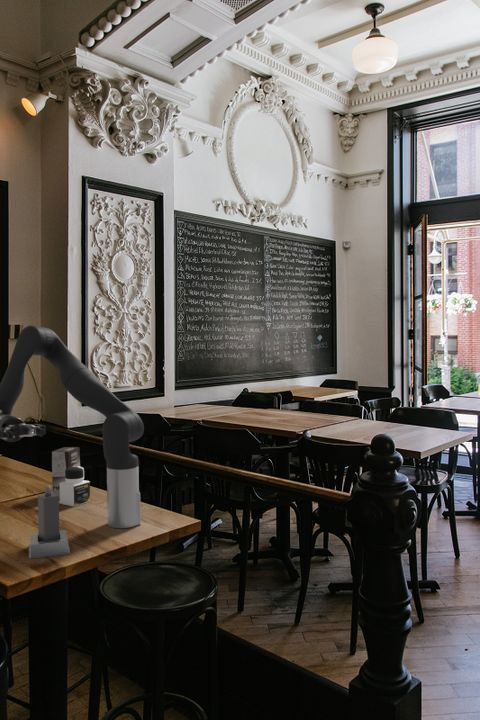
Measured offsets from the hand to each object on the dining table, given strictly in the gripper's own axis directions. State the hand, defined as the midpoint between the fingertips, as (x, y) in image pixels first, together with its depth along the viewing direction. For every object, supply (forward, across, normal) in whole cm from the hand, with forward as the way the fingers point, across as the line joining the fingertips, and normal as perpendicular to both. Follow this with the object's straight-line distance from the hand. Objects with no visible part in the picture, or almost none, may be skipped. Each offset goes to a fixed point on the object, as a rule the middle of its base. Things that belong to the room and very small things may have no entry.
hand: (27, 434), depth 169 cm
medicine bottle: (-19, +22, +28) cm, 41 cm away
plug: (+18, -1, +28) cm, 33 cm away
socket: (+18, -1, +28) cm, 33 cm away
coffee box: (-31, +24, +28) cm, 49 cm away
